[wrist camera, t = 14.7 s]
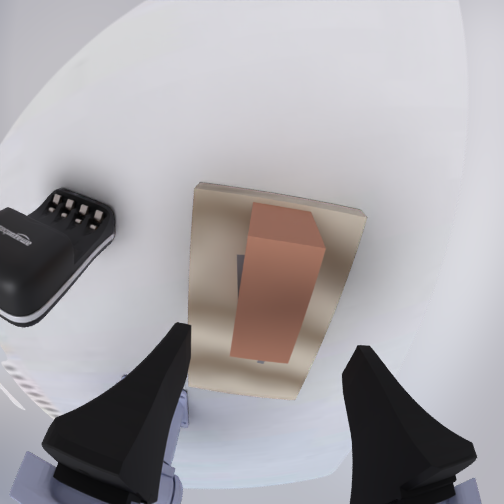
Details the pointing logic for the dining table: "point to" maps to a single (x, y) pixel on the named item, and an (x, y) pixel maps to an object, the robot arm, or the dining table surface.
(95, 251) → the battery charger
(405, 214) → the dining table surface
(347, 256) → the board
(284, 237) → the block
